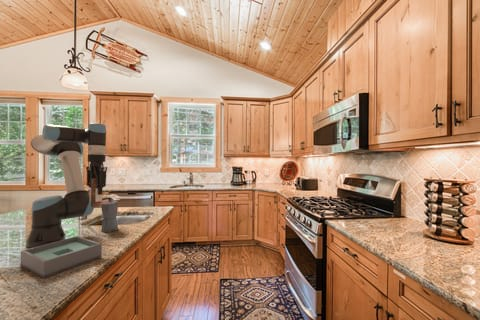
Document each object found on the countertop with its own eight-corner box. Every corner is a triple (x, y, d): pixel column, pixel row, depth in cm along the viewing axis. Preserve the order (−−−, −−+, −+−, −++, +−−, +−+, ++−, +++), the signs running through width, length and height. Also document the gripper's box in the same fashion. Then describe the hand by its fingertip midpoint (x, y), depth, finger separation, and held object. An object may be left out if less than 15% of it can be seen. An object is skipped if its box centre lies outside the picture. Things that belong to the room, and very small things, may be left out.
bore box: (20, 265, 86) (20, 250, 86) (76, 248, 104) (77, 236, 104) (43, 278, 77) (44, 261, 77) (101, 257, 94) (101, 243, 95)
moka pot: (97, 234, 124) (98, 200, 124) (102, 227, 138) (103, 196, 138) (116, 232, 127) (117, 199, 128) (119, 225, 142) (120, 195, 142)
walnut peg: (89, 206, 106) (89, 178, 106) (97, 204, 110) (97, 177, 110) (94, 207, 105) (94, 178, 105) (102, 205, 108) (102, 178, 108)
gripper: (78, 154, 108) (77, 200, 107) (99, 153, 101) (98, 203, 100) (94, 154, 115) (93, 198, 114) (115, 154, 107) (114, 201, 107)
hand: (95, 200), depth 107 cm, fingers closed on walnut peg, 4 cm apart
